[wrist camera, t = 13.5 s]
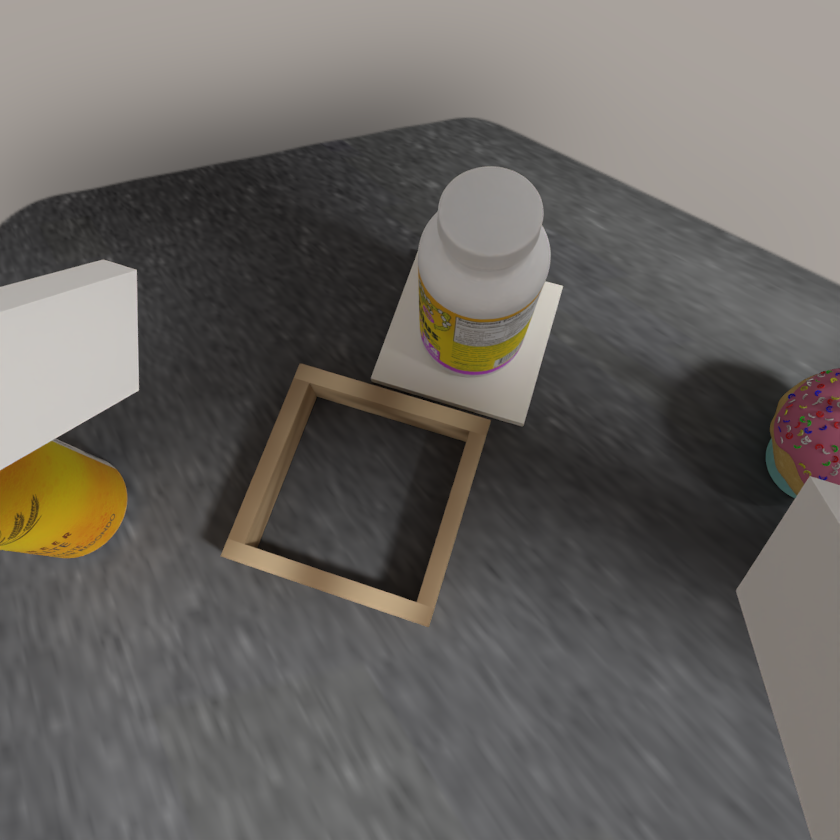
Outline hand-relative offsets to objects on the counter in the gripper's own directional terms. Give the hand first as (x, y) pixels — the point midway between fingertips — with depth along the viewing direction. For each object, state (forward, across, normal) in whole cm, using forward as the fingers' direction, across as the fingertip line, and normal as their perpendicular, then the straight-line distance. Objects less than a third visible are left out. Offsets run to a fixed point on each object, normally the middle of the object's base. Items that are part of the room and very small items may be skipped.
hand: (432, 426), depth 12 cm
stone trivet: (+27, -2, -8) cm, 28 cm away
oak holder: (+19, -5, -16) cm, 25 cm away
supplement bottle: (+27, -2, -8) cm, 28 cm away
